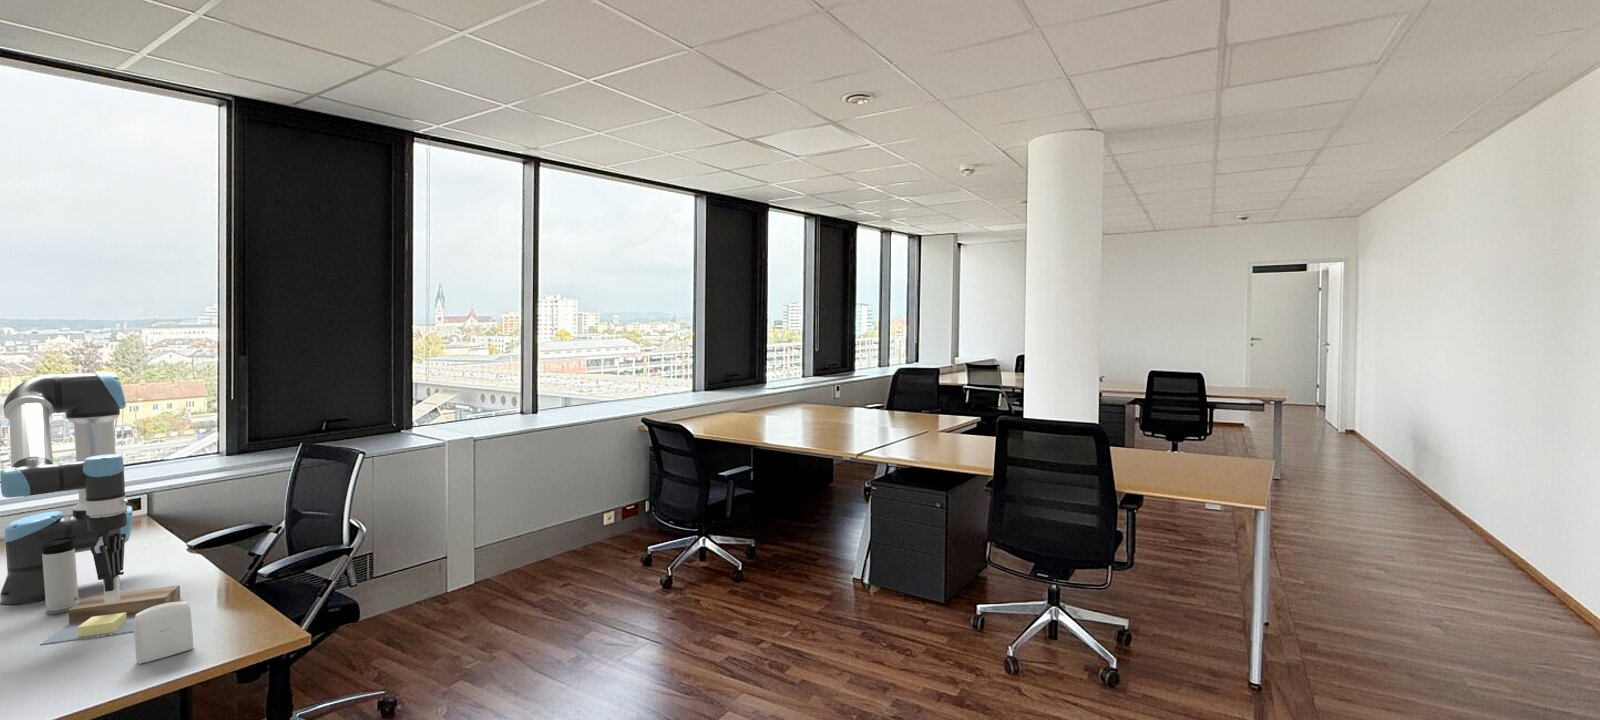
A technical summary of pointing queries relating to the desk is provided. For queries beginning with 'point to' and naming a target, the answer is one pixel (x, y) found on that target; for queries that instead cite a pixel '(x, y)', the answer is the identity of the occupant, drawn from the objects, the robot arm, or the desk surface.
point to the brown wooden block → (123, 603)
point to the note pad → (101, 624)
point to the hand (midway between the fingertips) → (112, 601)
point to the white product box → (162, 631)
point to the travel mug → (60, 575)
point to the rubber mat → (71, 634)
